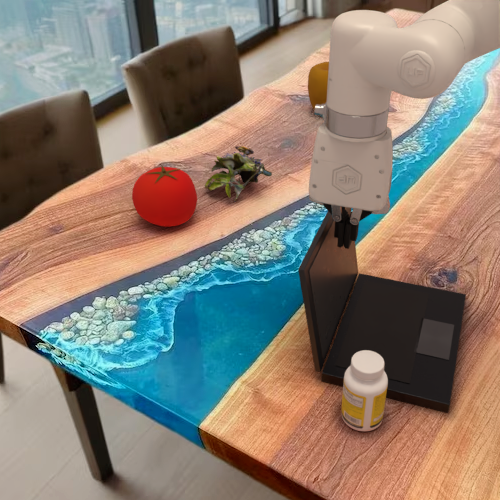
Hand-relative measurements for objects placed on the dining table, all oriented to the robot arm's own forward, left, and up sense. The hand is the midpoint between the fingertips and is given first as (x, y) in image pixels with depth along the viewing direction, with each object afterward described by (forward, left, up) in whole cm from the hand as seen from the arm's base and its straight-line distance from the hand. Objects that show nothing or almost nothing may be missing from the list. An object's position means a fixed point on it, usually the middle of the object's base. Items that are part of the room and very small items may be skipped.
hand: (345, 242), depth 89 cm
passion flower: (+29, -33, -15) cm, 47 cm away
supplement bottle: (-7, +16, -15) cm, 23 cm away
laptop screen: (+1, 0, -5) cm, 5 cm away
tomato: (+38, -19, -15) cm, 45 cm away
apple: (+22, -79, -15) cm, 83 cm away
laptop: (-9, 0, -15) cm, 18 cm away
